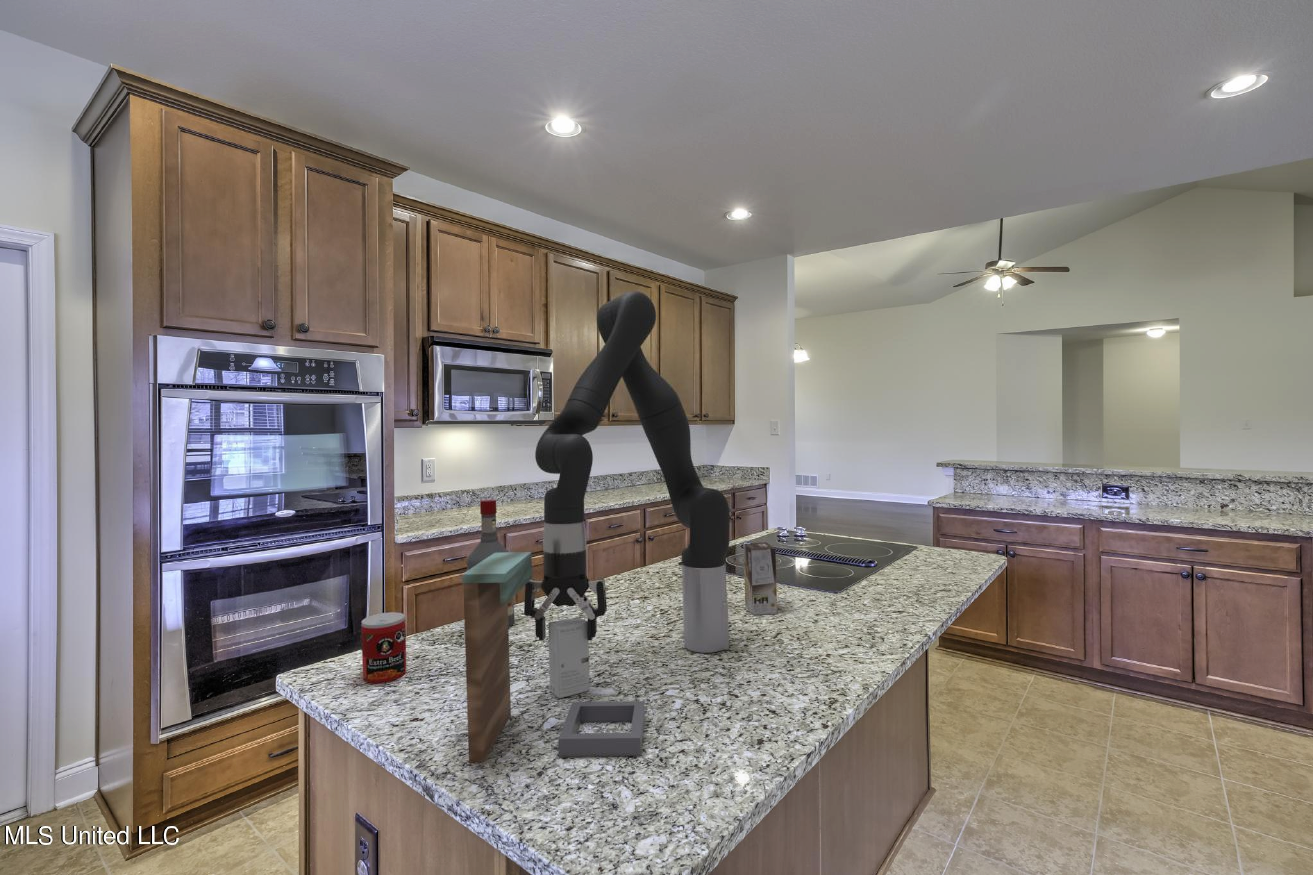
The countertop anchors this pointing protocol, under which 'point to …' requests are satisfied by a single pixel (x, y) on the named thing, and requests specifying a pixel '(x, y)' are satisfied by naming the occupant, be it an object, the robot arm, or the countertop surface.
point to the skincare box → (568, 657)
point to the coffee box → (760, 578)
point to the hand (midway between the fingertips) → (566, 639)
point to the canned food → (383, 647)
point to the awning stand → (490, 645)
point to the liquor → (489, 544)
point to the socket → (602, 742)
